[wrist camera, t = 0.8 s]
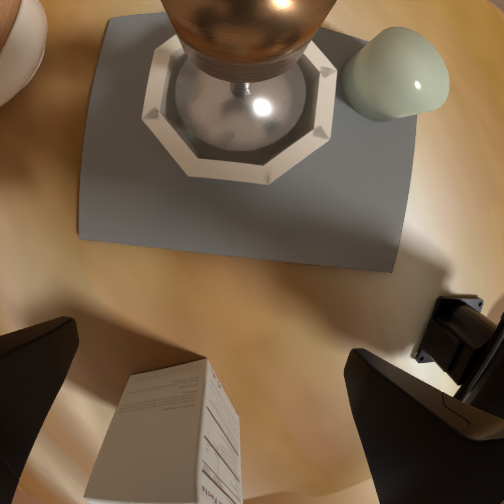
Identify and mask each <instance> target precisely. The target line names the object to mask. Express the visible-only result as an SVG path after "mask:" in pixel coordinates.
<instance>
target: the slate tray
mask: <svg viewBox="0 0 504 504" xmlns="http://www.w3.org/2000/svg"><path fill="white" fill-rule="evenodd" d="M174 35H176V32H175V30H174V28H173V26H172V24H171V21H170V19H169V17H168V15H167V13H149V14H138V15H128V16H120V17H113V18H111V19H110V22H109V25H108V28H107V31H106V35H105V38H104V41H103V45H102V49H101V52H100V56H99V60H98V64H97V68H96V72H95V77H94V82H93V86H92V91H91V96H90V102H89V108H88V114H87V120H86V127H85V134H84V142H83V151H82V162H81V174H80V191H79V239H84V240H92V241H101V242H110V243H118V244H127V245H136V246H145V247H154V248H162V249H171V250H180V251H189V252H198V253H208V254H217V255H226V256H235V257H244V258H254V259H263V260H273V261H282V262H291V263H301V264H311V265H320V266H330V267H340V268H350V269H359V270H369V271H379V272H389V273H392V271H393V267H394V263H395V259H396V255H397V251H398V246H399V242H400V237H401V232H402V227H403V222H404V217H405V211H406V206H407V200H408V194H409V187H410V180H411V173H412V165H413V156H414V147H415V136H416V123H417V114H416V115H412V116H407V117H403V118H399V119H396V120H392V121H387V122H376V121H372V120H369V119H367V118H365V117H363V116H362V115H360V114H359V113H358V112H356V111H355V110H354V109H353V108H352V106H351V105H350V104H349V102H348V101H347V99H346V97H345V95H344V93H343V90H342V86H341V72H342V69H343V67H344V65H345V64H346V62H347V61H348V60H349V59H350V58H352V57H353V56H354V55H355V54H356V53H357V52H358V51H360V50H361V49H362V48H363V47H364V46H365V45H366V44H368V43H369V42H368V41H365V40H362V39H359V38H355V37H352V36H349V35H346V34H342V33H338V32H335V31H331V30H327V29H323V28H319V29H318V30H317V32H316V34H315V35H314V37H313V38H312V42H313V43H314V44H315V45H316V46H317V47H318V48H319V49H320V51H321V52H322V53H323V54H324V55H325V56H326V58H327V59H328V60H329V61H330V62H331V63H332V65H333V66H334V67H335V68H336V70H337V78H336V90H335V100H334V110H333V119H332V128H331V137H330V140H329V141H328V142H326V143H325V144H324V145H322V146H321V147H319V148H318V149H317V150H315V151H314V152H312V153H311V154H310V155H308V156H307V157H306V158H304V159H303V160H301V161H300V162H299V163H297V164H296V165H295V166H293V167H292V168H291V169H289V170H288V171H287V172H285V173H284V174H283V175H281V176H280V177H279V178H277V179H276V180H275V181H273V182H272V183H271V184H269V185H265V184H257V183H249V182H240V181H232V180H222V179H213V178H202V177H191V176H187V174H186V173H185V172H184V171H183V169H182V168H181V167H180V166H179V164H178V163H177V162H176V161H175V160H174V158H173V157H172V156H171V155H170V153H169V152H168V151H167V150H166V148H165V147H164V146H163V145H162V144H161V142H160V141H159V140H158V139H157V137H156V136H155V135H154V134H153V132H152V131H151V130H150V129H149V127H148V126H147V125H146V124H145V123H144V121H143V120H142V119H141V118H142V112H143V106H144V100H145V95H146V89H147V84H148V79H149V74H150V69H151V64H152V60H153V55H154V51H155V49H156V48H158V47H159V46H160V45H162V44H163V43H165V42H166V41H167V40H169V39H170V38H172V37H173V36H174Z"/></svg>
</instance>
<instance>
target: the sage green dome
mask: <svg viewBox="0 0 504 504" xmlns="http://www.w3.org/2000/svg"><path fill="white" fill-rule="evenodd" d="M341 86H342V90H343V93H344V95H345V97H346V99H347V101H348V102H349V104H350V105H351V106H352V108H353V109H354V110H355V111H356V112H358V113H359V114H360V115H362V116H363V117H365V118H367V119H369V120H372V121H376V122H387V121H392V120H396V119H399V118H403V117H407V116H412V115H416V114H420V113H424V112H429V111H433V110H436V109H438V108H439V107H441V106H442V105H443V103H444V102H445V101H446V99H447V96H448V93H449V76H448V71H447V68H446V66H445V63H444V61H443V59H442V57H441V56H440V54H439V52H438V51H437V50H436V48H435V47H434V46H433V45H432V44H431V43H430V42H429V41H428V40H427V39H426V38H424V37H423V36H422V35H420V34H419V33H417V32H415V31H413V30H410V29H407V28H404V27H390V28H387V29H385V30H383V31H382V32H381V33H379V34H378V35H377V36H376V37H375V38H373V39H372V40H371V41H370V42H369V43H368V44H366V45H365V46H364V47H363V48H362V49H361V50H360V51H358V52H357V53H356V54H355V55H354V56H353V57H352V58H350V59H349V60H348V61H347V62H346V64H345V65H344V67H343V69H342V72H341Z"/></svg>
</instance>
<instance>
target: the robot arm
mask: <svg viewBox="0 0 504 504" xmlns="http://www.w3.org/2000/svg"><path fill="white" fill-rule="evenodd" d="M441 303H442V304H441ZM483 303H484V302H483V300H482V299H481V298H468V297H444V296H442V297H439V298H438V300H437V302H436V305H435V308H434V311H433V313H432V316H431V319H430V322H429V325H428V327H427V330H426V333H425V335H424V338H423V340H422V343H421V345H420V348H419V350H418V353H417V355H416V358H415V360H416V361H417V362H418V363H427V362H435V363H436V364H437V365H438V366H439V367H440V368H441V369H442V370H443V371H444V372H446V373H447V374H448V375H449V376H450V378H451V379H452V380H453V381H454V382H455V383H456V384H457V385H458V386H459V385H461V386H460V388H459V389H458V391H457V392H456V393H455V395H454V396H453V397H451V396H449V395H448V394H446V393H444V392H441V391H440V390H438V389H436V388H434V387H433V386H431V385H429V384H427V383H425V382H423V381H421V380H420V379H418V378H416V377H414V376H412V375H410V374H409V373H407V372H405V371H403V370H401V369H400V368H398V367H396V366H394V365H392V364H391V363H389V362H387V361H385V360H383V359H382V358H380V357H378V356H376V355H374V354H373V353H371V352H369V351H367V350H366V349H363V348H354V349H352V350H351V351H350V353H349V356H348V359H347V362H346V365H345V368H344V378H345V383H346V388H347V393H348V397H349V402H350V407H351V411H352V415H353V418H354V421H355V424H356V427H357V430H358V433H359V436H360V440H361V443H362V446H363V449H364V452H365V455H366V459H367V462H368V465H369V468H370V472H371V475H372V478H373V481H374V485H375V488H376V492H377V495H378V499H379V502H380V504H504V312H503V314H502V316H501V320H500V322H499V324H498V325H496V324H495V323H494V322H492V321H491V320H490V319H488V318H487V317H485V316H484V315H483V314H481V313H480V312H481V309H482V306H483ZM78 345H79V337H78V332H77V325H76V321H75V319H74V318H71V317H66V316H62V317H59V318H56V319H53V320H50V321H46V322H43V323H40V324H37V325H34V326H30V327H27V328H24V329H21V330H18V331H14V332H11V333H8V334H5V335H1V336H0V504H11V503H12V500H13V497H14V494H15V491H16V488H17V485H18V483H19V478H20V477H21V474H22V472H23V469H24V466H25V464H26V461H27V459H28V457H29V454H30V452H31V449H32V447H33V445H34V442H35V440H36V438H37V436H38V433H39V431H40V429H41V427H42V425H43V422H44V420H45V418H46V416H47V414H48V412H49V410H50V408H51V406H52V404H53V402H54V400H55V398H56V396H57V394H58V392H59V390H60V388H61V386H62V384H63V382H64V380H65V378H66V375H67V373H68V370H69V368H70V365H71V363H72V360H73V358H74V355H75V353H76V351H77V348H78Z"/></svg>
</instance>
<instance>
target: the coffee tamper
mask: <svg viewBox="0 0 504 504" xmlns="http://www.w3.org/2000/svg"><path fill="white" fill-rule="evenodd" d="M336 1H337V0H161V2H162V4H163V6H164V8H165V10H166V13H167V15H168V17H169V19H170V21H171V24H172V26H173V28H174V30H175V32H176V34H177V37H178V39H179V41H180V43H181V45H182V48H183V50H184V52H185V54H186V55H187V57H188V59H187V60H186V61H185V63H184V64H183V66H182V68H181V70H180V72H179V75H178V77H177V81H176V87H175V100H176V105H177V109H178V112H179V114H180V116H181V118H182V120H183V122H184V123H185V125H186V126H187V127H188V129H189V130H190V131H191V132H192V133H193V134H194V135H196V136H197V137H198V138H199V139H201V140H202V141H204V142H205V143H207V144H209V145H211V146H213V147H216V148H219V149H222V150H227V151H234V152H245V151H253V150H258V149H261V148H264V147H267V146H269V145H271V144H273V143H275V142H276V141H278V140H279V139H281V138H282V137H283V136H285V135H286V134H287V133H288V132H289V131H290V130H291V129H292V128H293V127H294V125H295V124H296V122H297V121H298V119H299V117H300V116H301V114H302V111H303V108H304V104H305V99H306V86H305V81H304V77H303V74H302V71H301V69H300V67H299V65H298V64H297V61H298V60H299V59H300V58H301V56H302V55H303V53H304V51H305V50H306V48H307V46H308V45H309V43H310V42H311V40H312V38H313V37H314V35H315V34H316V32H317V30H318V29H319V27H320V26H321V24H322V23H323V21H324V20H325V18H326V16H327V15H328V13H329V12H330V10H331V9H332V7H333V6H334V4H335V3H336Z"/></svg>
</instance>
